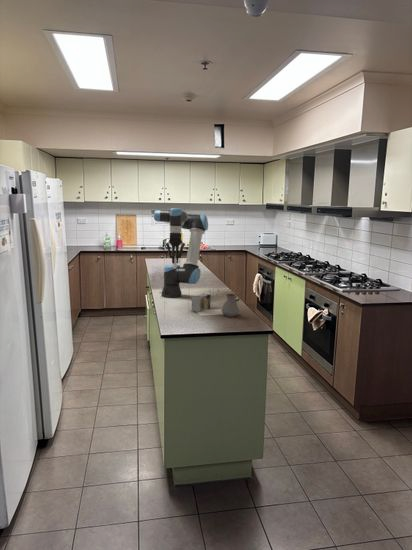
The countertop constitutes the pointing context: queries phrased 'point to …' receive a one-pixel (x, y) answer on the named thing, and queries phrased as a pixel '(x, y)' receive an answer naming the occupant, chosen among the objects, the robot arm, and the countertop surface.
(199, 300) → the coffee box
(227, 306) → the coffee pot
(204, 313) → the mat
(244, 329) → the countertop surface
